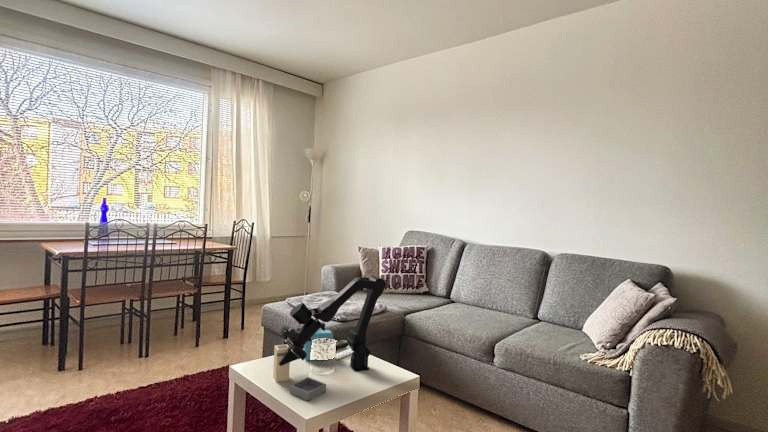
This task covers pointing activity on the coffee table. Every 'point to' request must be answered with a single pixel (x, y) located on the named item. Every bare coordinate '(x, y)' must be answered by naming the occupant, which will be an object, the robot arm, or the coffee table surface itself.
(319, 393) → the tray
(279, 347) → the kraft box
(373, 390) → the coffee table surface
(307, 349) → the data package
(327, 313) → the robot arm
